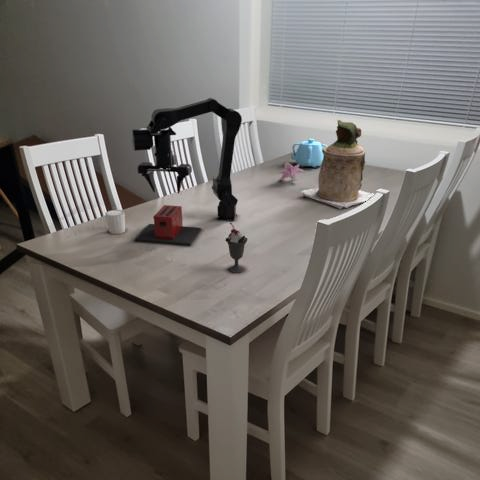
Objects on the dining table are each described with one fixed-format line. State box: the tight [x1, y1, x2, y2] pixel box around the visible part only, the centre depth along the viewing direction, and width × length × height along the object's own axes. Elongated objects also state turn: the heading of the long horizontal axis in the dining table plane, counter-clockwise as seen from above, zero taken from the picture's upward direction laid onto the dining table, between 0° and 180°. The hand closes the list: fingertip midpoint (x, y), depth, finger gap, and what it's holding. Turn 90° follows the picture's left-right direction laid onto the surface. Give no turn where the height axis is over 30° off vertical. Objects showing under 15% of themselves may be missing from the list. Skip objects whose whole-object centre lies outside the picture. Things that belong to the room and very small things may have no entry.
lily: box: [277, 162, 305, 184], centre depth 229 cm, size 12×12×10 cm
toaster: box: [153, 204, 184, 239], centre depth 170 cm, size 13×6×8 cm, turn 170°
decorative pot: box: [290, 138, 328, 168], centre depth 255 cm, size 16×16×14 cm
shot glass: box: [105, 209, 126, 235], centre depth 174 cm, size 7×7×7 cm
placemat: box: [134, 223, 202, 247], centre depth 172 cm, size 20×15×1 cm
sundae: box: [225, 222, 248, 274], centre depth 145 cm, size 7×7×15 cm
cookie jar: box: [300, 119, 375, 210], centre depth 203 cm, size 25×25×32 cm
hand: (166, 192), depth 176 cm, fingers open, 9 cm apart
